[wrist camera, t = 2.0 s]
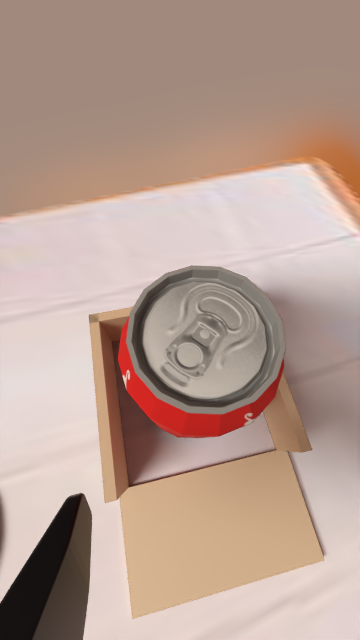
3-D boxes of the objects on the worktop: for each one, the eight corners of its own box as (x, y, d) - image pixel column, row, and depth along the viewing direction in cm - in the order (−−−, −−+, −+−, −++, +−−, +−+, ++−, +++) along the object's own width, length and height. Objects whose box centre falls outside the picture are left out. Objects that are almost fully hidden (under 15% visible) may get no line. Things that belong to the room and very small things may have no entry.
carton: (321, 558, 16) (366, 593, 12) (133, 615, 14) (119, 674, 11) (237, 311, 22) (250, 285, 19) (103, 336, 21) (88, 314, 17)
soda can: (178, 336, 21) (183, 226, 10) (246, 382, 20) (334, 312, 9) (127, 401, 19) (64, 350, 8) (198, 459, 18) (239, 490, 7)
